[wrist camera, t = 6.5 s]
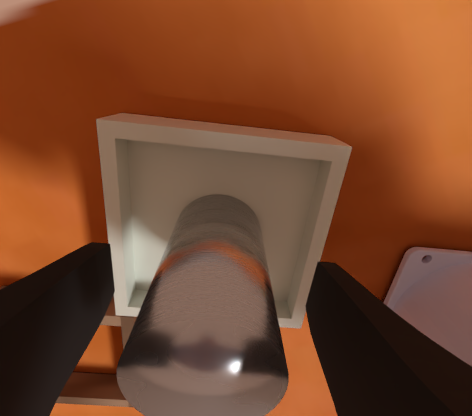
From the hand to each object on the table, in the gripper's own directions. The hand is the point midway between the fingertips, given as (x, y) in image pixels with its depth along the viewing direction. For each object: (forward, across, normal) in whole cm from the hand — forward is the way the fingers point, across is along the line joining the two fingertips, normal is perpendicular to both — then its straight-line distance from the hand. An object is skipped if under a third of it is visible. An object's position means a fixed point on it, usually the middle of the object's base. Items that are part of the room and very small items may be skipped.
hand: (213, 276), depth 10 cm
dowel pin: (+3, 0, 0) cm, 3 cm away
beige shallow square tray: (+5, 0, 0) cm, 5 cm away
